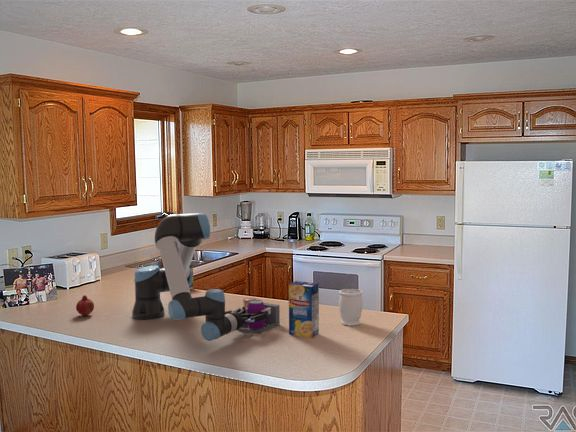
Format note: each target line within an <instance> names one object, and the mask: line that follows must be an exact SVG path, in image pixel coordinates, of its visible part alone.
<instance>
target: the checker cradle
mask: <svg viewBox="0 0 576 432" xmlns="http://www.w3.org/2000/svg"><path fill="white" fill-rule="evenodd" d="M263 303H264V306H265V309H267V308H271V314H269V315H267V319H265V326H264V327H263V328H261V329H259V330H252V329H250V328H247V327H248V322H247V323H245V324H243V325H242V327H241V328H240V329H238V330H237V331H239V332H243V333H249V334H253V335H261V334H263V333H265V332H267V331H270V330H271V329H273V328H275V327H277V326H279V325H280V321H281V319H280V314H281V313H280V311H281V310H280V304H274V303H268V302H263Z"/></svg>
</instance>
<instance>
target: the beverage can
mask: <svg viewBox="0 0 576 432" xmlns="http://www.w3.org/2000/svg"><path fill="white" fill-rule="evenodd" d="M264 303H265V302H264V301H263V300H262V299H256V300H250V301H249V303H248V306H247V314H248V313H249V314H254V313H258V312H261V311H262V310H265V306H264ZM263 327H266V324H265V319H264V320H261V321H258V322H255V323H254V324H251V322H248V326H247V328H248V329H251V330H256V331H258V330H259V329H261V328H263Z"/></svg>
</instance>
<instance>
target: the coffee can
mask: <svg viewBox="0 0 576 432" xmlns="http://www.w3.org/2000/svg"><path fill="white" fill-rule="evenodd" d="M189 267H190V269H191V271H192V283H191V285H190V287H189V289H190V290H191V289H193V288H194V268H193V267H194V264H193V262H191V263H190V265H189Z"/></svg>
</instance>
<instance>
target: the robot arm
mask: <svg viewBox="0 0 576 432" xmlns="http://www.w3.org/2000/svg"><path fill="white" fill-rule="evenodd" d="M210 236H211V226H210V221H209V218H208V216H207V214H206V213H204V212H200V213H199V212H195V213H194V212H192V213H180V214H179V213H177V214H176V213H175V214H168V215H167V216H165V217H164V218H162V219H161V221H160V222H159V223H158V225H157V226H156V229H155V233H154V243H155V248H156V249H157V250H159V254H160V257H161V261H162V265H163V267H161V268H160V267H159V265H148V266H143V267H140V268H138V269H137V270H136V271H134V296H135V300H134V304H133V307H132V310H131V312H132V314H131V315H132V318H133V319H137V320H152V319H153V320H154V319H156V318H157V319H158V318H161V317H163V316H164V315H165V307H164V305H163V302H162V300H161V293H166V292H170V297H171V300H169V301H168V306H167V308H168V316H169V317H170V319H172V320H174V321H177V320H184V319H185V320H186V319H190V318H195V317H196V318H197V317H205V316H206V318H205V323H203V324H202V325H201V328H200V333H201V336H202V338H203V339H204V340H206V341H210V342H211V341H214V340H217V339H220V338H221V337H223V336H225V335H226V336H227V335H229V334H230V333H232V332H235V331H238V329H240V328H241V327H242V325H243V324H245V323H247V322H251V324H254V323H255V322H258V321H261V320H264V319H267V315H269V314H271V308H267V309H265V310H262V311H261V312H258V313H254V314H249V313H248V314H247V308H246V309H245V307H240V308H239V307H238V308H237V309H234V310H232V311H233V312H231V313H228V314H226V315H225V311H226V298H225V297H226V294H225V292H224V290H222V289H220V288H212V289H207V290H206V291H205V294H204V296H197V297H196V296H195V297H192V293H191V289H189V287H190V285H191V283H192V271H191V269H190V267H189V265H190V263H192V260H193V257H194V255H195V252H196V249H197V247H199V246H200V245H201V244H202V242H203V240H208V239H209V238H210ZM245 313H246V314H245Z"/></svg>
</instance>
